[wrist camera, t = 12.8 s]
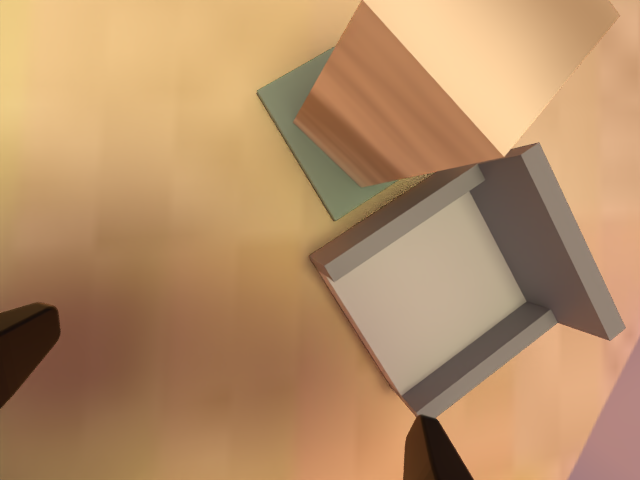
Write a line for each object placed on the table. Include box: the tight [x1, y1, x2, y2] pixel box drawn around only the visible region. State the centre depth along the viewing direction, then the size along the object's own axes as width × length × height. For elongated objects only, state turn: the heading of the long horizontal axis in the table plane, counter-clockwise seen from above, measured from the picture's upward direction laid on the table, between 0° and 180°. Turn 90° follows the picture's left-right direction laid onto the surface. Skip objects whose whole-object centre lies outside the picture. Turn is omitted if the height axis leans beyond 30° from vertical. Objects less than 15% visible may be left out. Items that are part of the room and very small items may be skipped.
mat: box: [257, 46, 398, 221], centre depth 18 cm, size 7×7×1 cm
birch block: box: [293, 0, 620, 188], centre depth 13 cm, size 4×4×10 cm
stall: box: [309, 143, 626, 418], centre depth 16 cm, size 9×9×6 cm
